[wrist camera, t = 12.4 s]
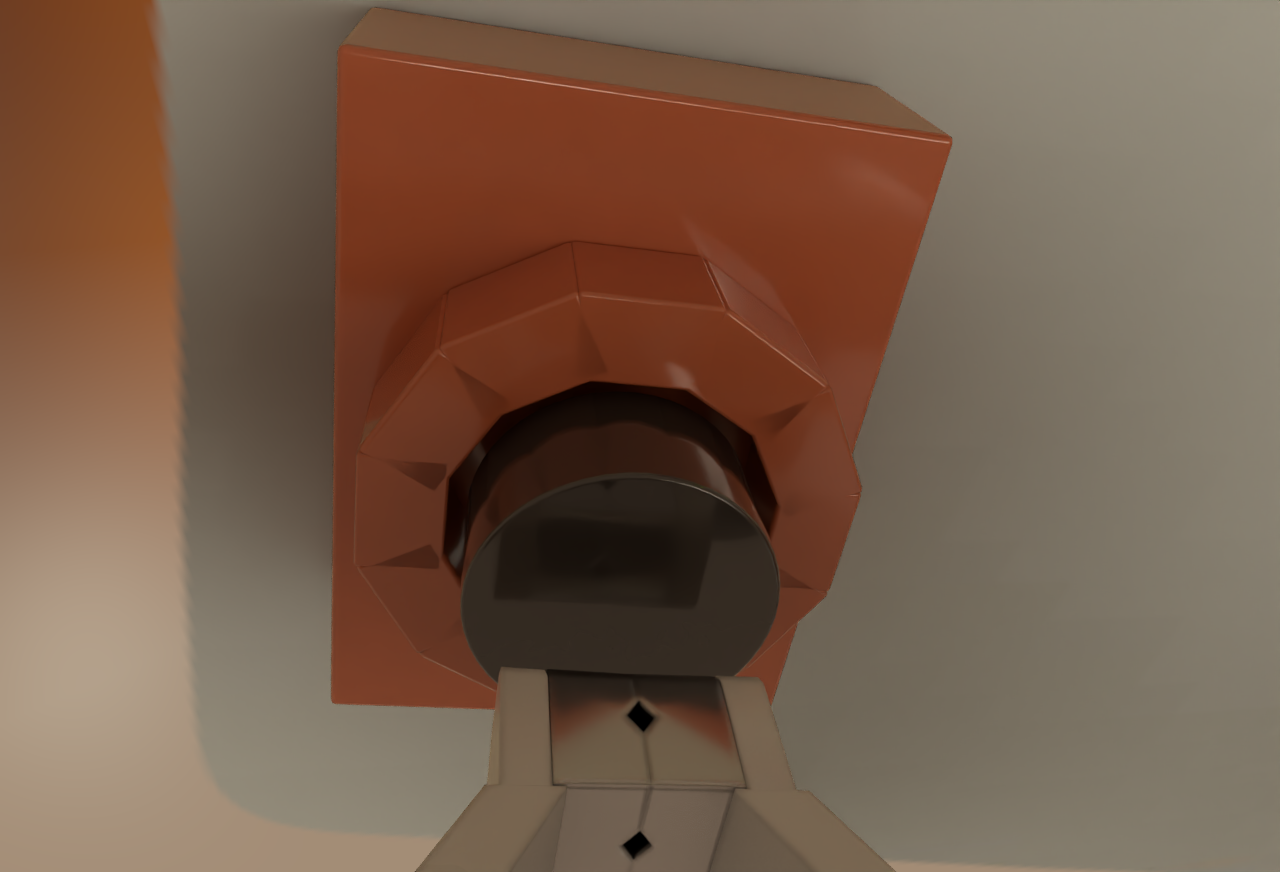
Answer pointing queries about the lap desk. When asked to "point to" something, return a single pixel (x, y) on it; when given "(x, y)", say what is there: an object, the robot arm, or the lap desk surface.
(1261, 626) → the lap desk surface
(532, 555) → the button
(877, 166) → the orange knob box
